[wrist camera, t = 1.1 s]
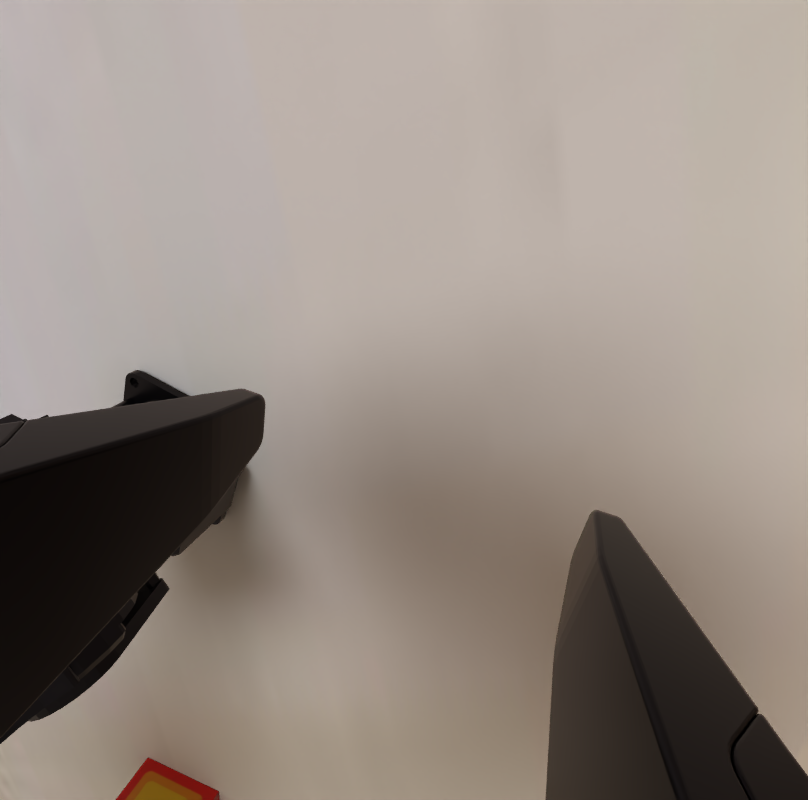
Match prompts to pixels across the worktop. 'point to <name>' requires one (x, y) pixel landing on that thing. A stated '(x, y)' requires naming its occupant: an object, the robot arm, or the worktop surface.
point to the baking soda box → (164, 785)
